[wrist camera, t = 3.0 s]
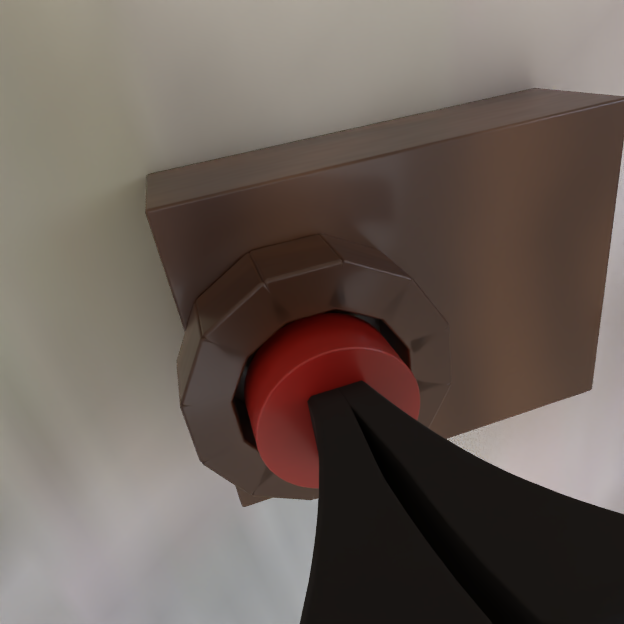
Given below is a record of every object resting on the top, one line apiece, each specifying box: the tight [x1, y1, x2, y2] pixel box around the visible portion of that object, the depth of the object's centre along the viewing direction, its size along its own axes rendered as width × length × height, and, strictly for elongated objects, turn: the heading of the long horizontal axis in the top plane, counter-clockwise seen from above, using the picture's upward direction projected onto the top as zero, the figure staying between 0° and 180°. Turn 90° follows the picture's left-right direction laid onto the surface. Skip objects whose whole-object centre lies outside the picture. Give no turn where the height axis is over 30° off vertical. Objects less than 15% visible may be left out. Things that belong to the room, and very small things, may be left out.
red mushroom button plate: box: [145, 88, 624, 507], centre depth 16 cm, size 13×10×6 cm
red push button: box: [244, 313, 420, 488], centre depth 13 cm, size 4×4×2 cm
